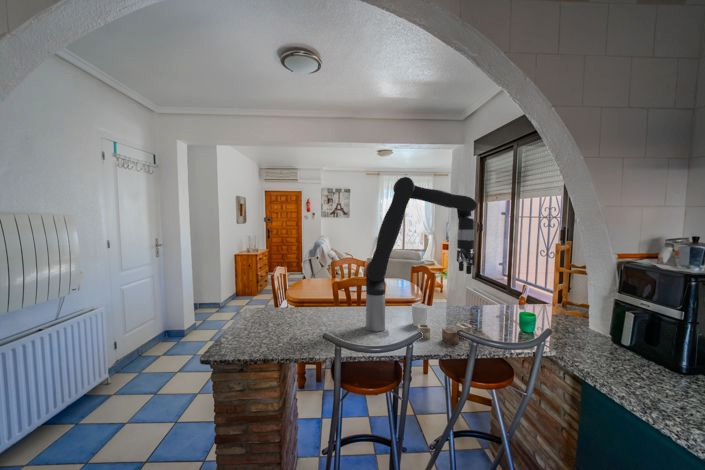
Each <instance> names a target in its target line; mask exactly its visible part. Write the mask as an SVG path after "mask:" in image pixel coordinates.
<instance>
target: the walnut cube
mask: <svg viewBox="0 0 705 470" xmlns="http://www.w3.org/2000/svg"><path fill="white" fill-rule="evenodd" d="M441 330H442V331H441V340H442V341H443V342H444V343H445V344H447V345H458V344H460V336H458V335H457V331H456V328H453V327H450V328H442V329H441Z"/></svg>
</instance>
